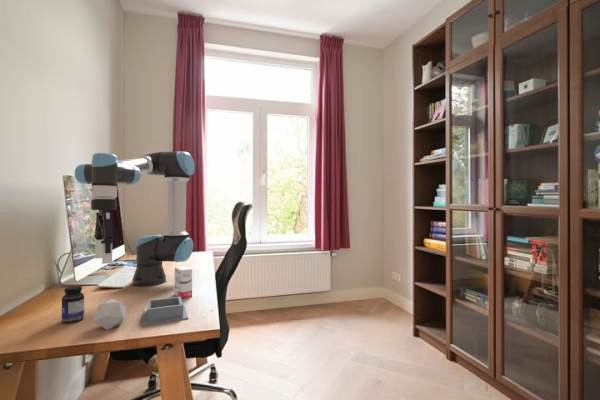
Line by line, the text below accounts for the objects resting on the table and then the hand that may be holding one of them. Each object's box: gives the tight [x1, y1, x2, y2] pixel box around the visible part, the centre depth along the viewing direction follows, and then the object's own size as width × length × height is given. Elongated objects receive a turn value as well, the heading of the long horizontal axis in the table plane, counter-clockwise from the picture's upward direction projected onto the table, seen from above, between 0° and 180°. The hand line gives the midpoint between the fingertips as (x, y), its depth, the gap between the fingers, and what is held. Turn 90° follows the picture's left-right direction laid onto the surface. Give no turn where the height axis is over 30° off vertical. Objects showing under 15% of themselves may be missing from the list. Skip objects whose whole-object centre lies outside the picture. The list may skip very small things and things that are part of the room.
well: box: [141, 296, 189, 326], centre depth 111 cm, size 14×14×4 cm
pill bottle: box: [61, 285, 85, 324], centre depth 106 cm, size 6×6×11 cm
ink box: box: [173, 265, 193, 299], centre depth 135 cm, size 8×5×12 cm, turn 39°
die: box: [92, 298, 128, 331], centre depth 101 cm, size 8×9×10 cm
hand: (103, 260), depth 109 cm, fingers open, 13 cm apart
